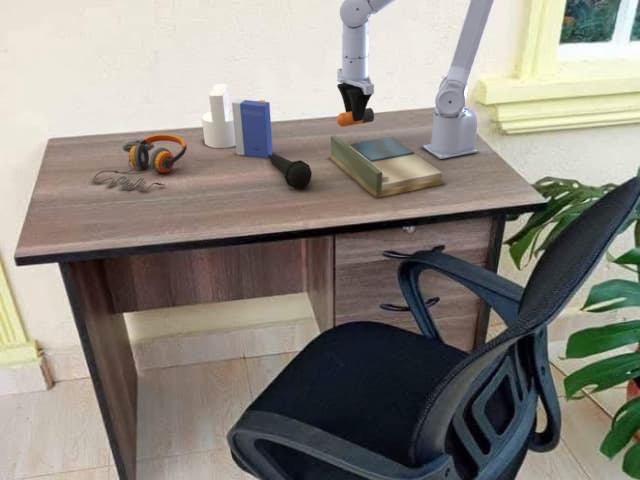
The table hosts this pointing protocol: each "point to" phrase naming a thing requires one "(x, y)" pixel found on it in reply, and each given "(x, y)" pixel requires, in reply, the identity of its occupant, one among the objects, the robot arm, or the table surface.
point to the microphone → (292, 171)
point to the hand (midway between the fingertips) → (354, 118)
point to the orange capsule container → (347, 118)
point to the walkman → (252, 128)
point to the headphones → (159, 159)
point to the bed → (384, 166)
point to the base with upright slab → (219, 119)
